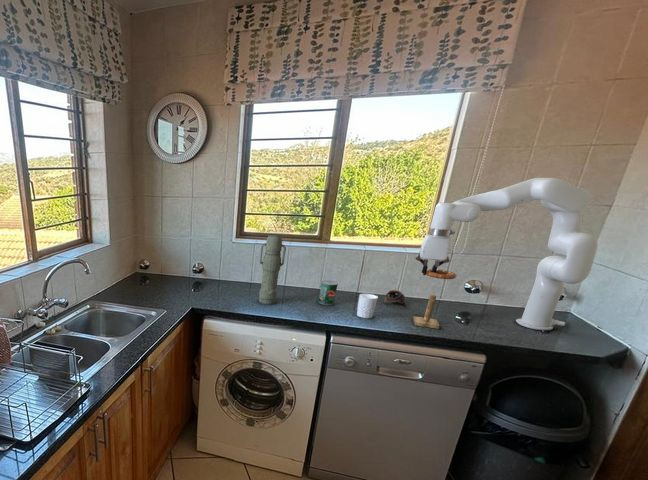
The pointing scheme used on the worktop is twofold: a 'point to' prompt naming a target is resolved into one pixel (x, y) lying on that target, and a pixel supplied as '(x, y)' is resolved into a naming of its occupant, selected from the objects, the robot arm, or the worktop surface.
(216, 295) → the worktop surface
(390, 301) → the brown domed piece
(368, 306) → the white cup
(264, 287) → the grey stone vase
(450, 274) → the ring
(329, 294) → the canned tomato
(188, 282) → the worktop surface
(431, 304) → the stand
